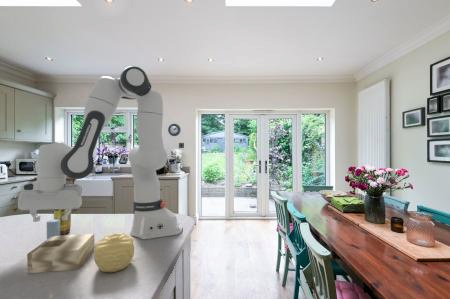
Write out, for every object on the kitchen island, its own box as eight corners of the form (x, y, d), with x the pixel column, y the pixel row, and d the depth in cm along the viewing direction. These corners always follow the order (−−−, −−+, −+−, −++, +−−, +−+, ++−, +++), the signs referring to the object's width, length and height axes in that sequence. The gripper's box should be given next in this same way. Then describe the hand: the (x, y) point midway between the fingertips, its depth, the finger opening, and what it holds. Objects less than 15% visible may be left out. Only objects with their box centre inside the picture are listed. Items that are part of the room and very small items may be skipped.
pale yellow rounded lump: (92, 281, 66) (91, 243, 66) (96, 262, 77) (96, 229, 77) (135, 272, 71) (134, 237, 71) (133, 255, 82) (133, 225, 82)
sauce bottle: (61, 236, 99) (61, 190, 99) (49, 235, 101) (49, 189, 100) (74, 230, 106) (74, 187, 106) (63, 229, 107) (62, 186, 107)
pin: (61, 244, 91) (61, 219, 91) (56, 249, 87) (56, 222, 87) (50, 245, 90) (50, 220, 90) (44, 250, 86) (44, 223, 86)
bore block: (94, 249, 87) (94, 233, 86) (78, 268, 73) (78, 249, 73) (52, 252, 84) (52, 236, 84) (27, 273, 70) (27, 253, 70)
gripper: (85, 182, 93) (84, 217, 93) (26, 183, 89) (25, 219, 89) (78, 185, 87) (77, 222, 87) (15, 185, 83) (14, 224, 83)
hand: (50, 220), depth 88 cm, fingers open, 8 cm apart
